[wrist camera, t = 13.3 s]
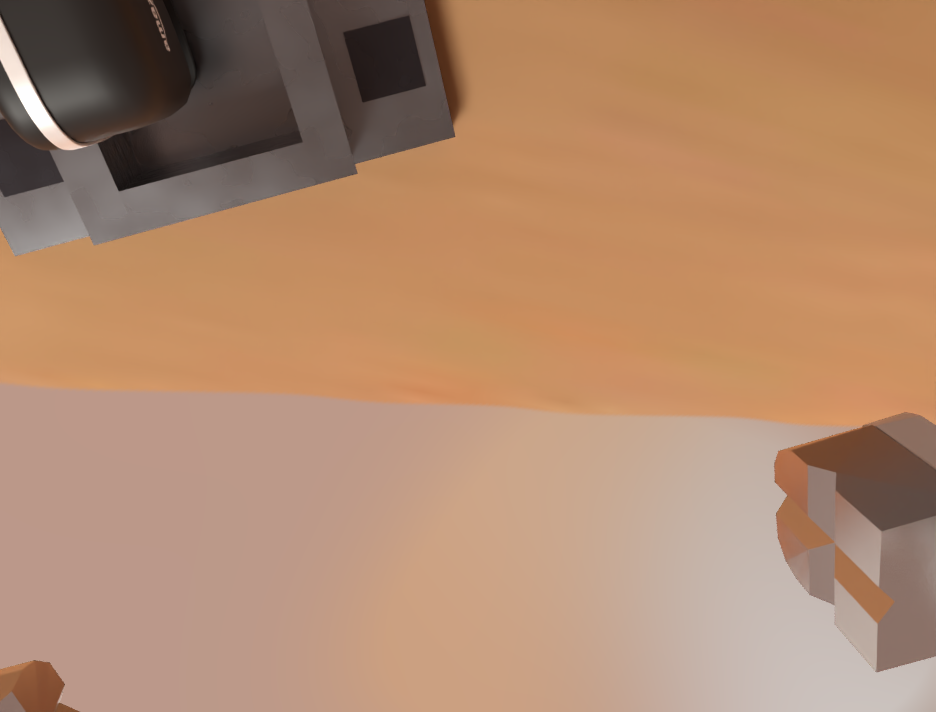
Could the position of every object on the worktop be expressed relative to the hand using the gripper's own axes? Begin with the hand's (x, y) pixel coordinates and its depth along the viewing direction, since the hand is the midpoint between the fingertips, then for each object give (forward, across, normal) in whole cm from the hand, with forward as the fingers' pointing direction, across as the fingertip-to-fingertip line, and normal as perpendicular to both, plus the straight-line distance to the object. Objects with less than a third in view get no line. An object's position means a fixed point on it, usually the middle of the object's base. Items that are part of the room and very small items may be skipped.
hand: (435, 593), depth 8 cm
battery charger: (+24, -6, +8) cm, 26 cm away
